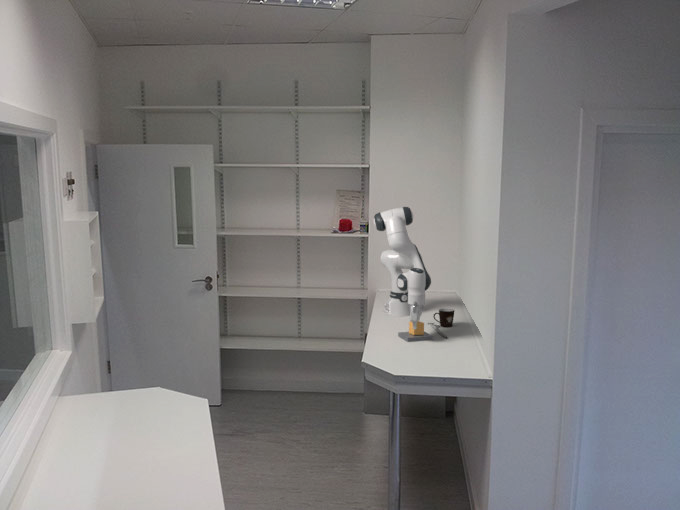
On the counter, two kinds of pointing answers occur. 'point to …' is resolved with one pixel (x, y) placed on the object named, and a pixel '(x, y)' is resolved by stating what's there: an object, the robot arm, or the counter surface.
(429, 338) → the flat gray plate
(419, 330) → the tan wooden cube
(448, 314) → the coffee mug
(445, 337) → the caliper
